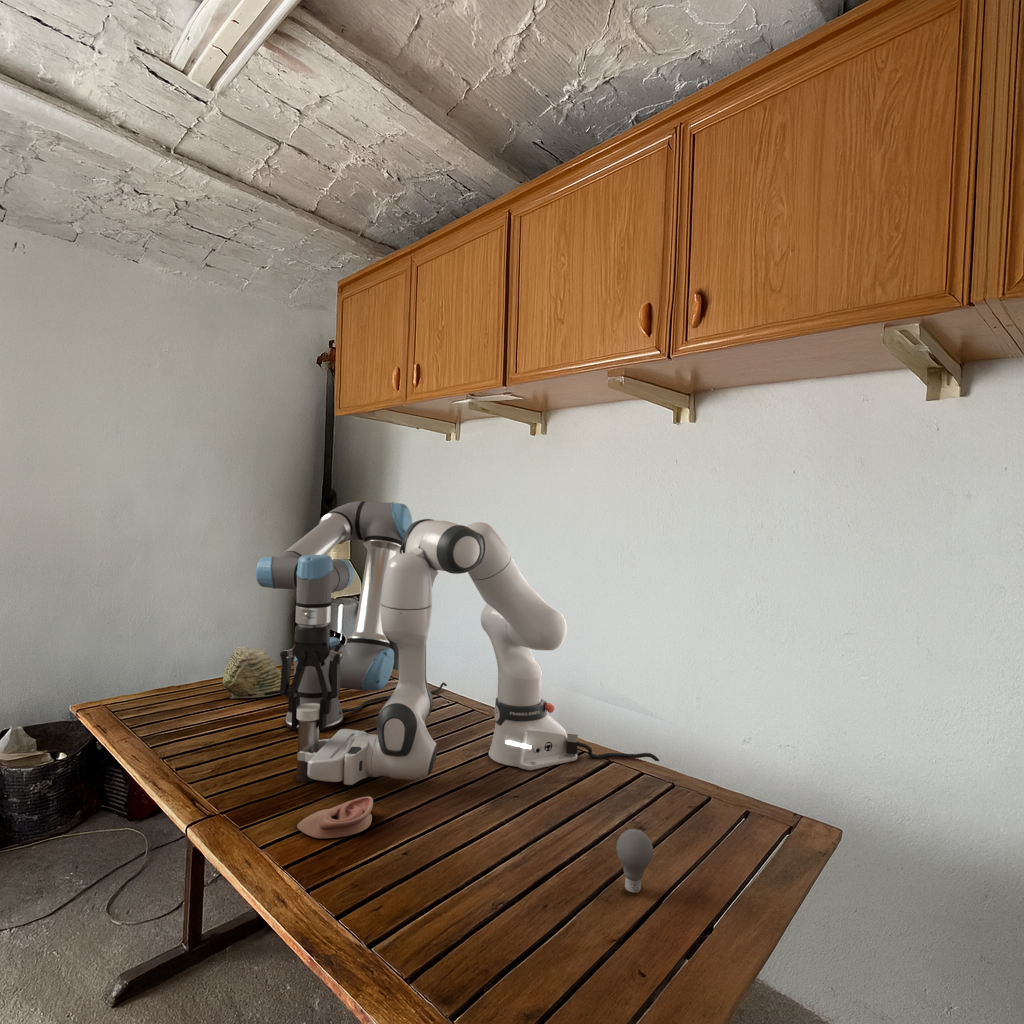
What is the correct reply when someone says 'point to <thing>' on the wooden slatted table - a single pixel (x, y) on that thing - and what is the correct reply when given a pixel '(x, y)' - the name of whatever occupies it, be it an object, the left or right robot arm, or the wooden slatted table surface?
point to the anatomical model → (339, 819)
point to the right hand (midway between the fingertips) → (304, 749)
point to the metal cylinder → (307, 745)
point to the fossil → (251, 674)
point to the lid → (308, 712)
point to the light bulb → (634, 857)
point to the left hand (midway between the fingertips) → (308, 726)
